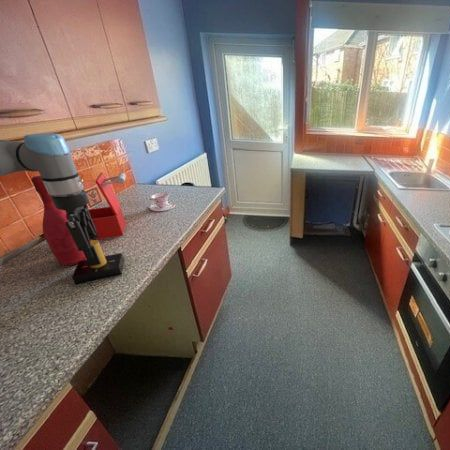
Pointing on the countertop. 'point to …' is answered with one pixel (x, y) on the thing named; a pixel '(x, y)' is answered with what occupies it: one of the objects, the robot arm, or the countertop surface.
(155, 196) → the teacup
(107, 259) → the panel
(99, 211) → the cabinet
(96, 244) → the yellow cylinder
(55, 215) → the wine bottle
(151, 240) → the countertop surface
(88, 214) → the robot arm
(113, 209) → the cabinet door
